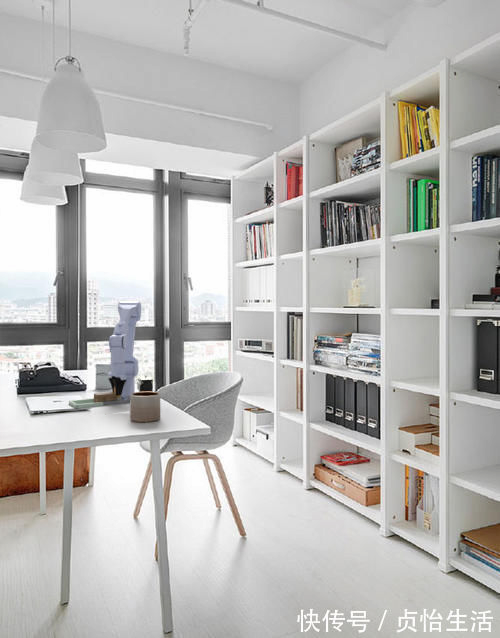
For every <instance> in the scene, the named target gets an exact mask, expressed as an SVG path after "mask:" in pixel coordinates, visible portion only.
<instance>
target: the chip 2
mask: <svg viewBox="0 0 500 638" xmlns="http://www.w3.org/2000/svg"><path fill="white" fill-rule="evenodd" d="M104 393H105V394H107V397H106V401H109V400H116V393H114V392H113V391H109V392H104Z"/></svg>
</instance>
